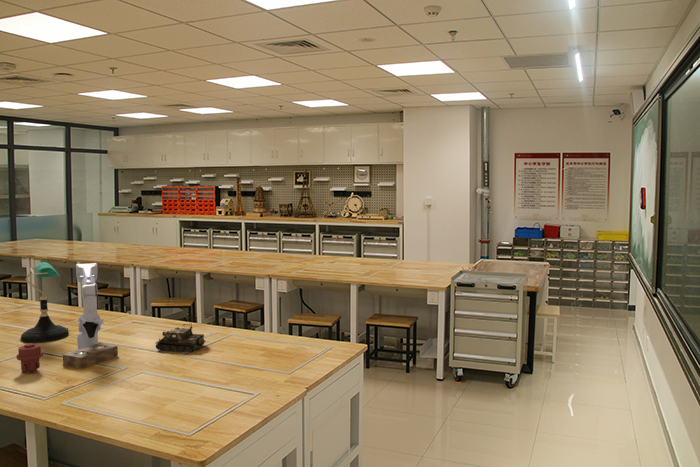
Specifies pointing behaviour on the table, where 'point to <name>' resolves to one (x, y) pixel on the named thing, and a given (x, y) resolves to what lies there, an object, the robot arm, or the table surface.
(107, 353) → the walnut block
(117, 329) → the table surface
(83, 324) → the robot arm
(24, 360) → the mechanical component
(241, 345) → the table surface
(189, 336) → the model tank
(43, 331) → the banker's lamp
